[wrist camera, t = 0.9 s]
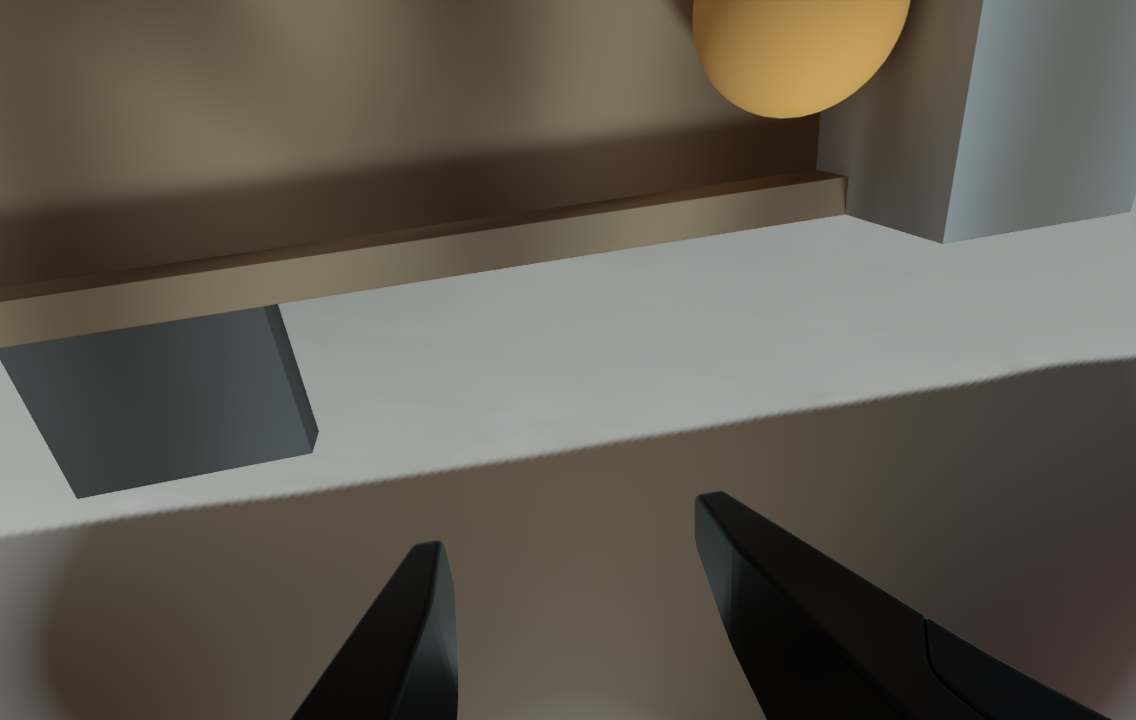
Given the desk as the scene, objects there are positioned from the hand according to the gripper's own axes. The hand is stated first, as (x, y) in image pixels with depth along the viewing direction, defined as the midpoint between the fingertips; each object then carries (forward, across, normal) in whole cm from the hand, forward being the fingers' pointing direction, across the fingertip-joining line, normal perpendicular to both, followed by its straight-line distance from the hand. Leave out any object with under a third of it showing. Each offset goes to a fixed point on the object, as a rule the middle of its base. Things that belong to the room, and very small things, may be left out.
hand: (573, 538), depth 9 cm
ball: (+4, -5, -7) cm, 10 cm away
